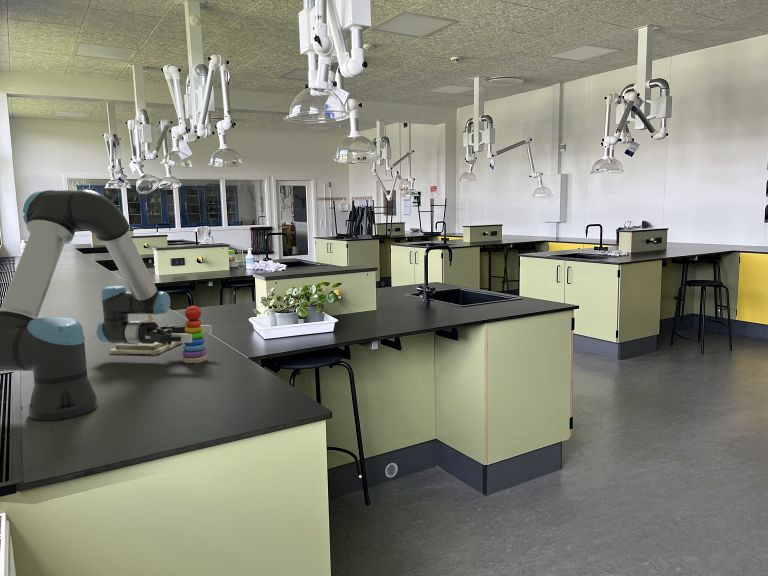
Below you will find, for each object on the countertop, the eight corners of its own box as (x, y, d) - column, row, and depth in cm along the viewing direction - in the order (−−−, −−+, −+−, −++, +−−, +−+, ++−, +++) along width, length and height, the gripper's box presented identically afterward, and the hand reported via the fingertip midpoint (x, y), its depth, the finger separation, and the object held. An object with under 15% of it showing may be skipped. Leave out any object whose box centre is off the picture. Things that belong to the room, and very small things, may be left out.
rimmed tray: (155, 355, 195) (155, 346, 195) (109, 354, 198) (108, 345, 198) (182, 343, 213) (182, 335, 213) (139, 342, 216) (139, 334, 216)
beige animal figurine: (156, 325, 247) (157, 331, 238) (126, 334, 242) (127, 341, 233) (150, 309, 244) (152, 315, 236) (120, 318, 240) (121, 324, 231)
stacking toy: (199, 364, 182) (196, 308, 179) (177, 363, 184) (173, 308, 181) (211, 358, 190) (208, 304, 187) (190, 357, 191) (186, 304, 189)
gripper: (164, 335, 201) (219, 336, 198) (121, 352, 177) (183, 354, 173) (162, 314, 200) (218, 315, 197) (119, 329, 176) (181, 330, 172)
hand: (201, 333), depth 185 cm, fingers open, 13 cm apart
